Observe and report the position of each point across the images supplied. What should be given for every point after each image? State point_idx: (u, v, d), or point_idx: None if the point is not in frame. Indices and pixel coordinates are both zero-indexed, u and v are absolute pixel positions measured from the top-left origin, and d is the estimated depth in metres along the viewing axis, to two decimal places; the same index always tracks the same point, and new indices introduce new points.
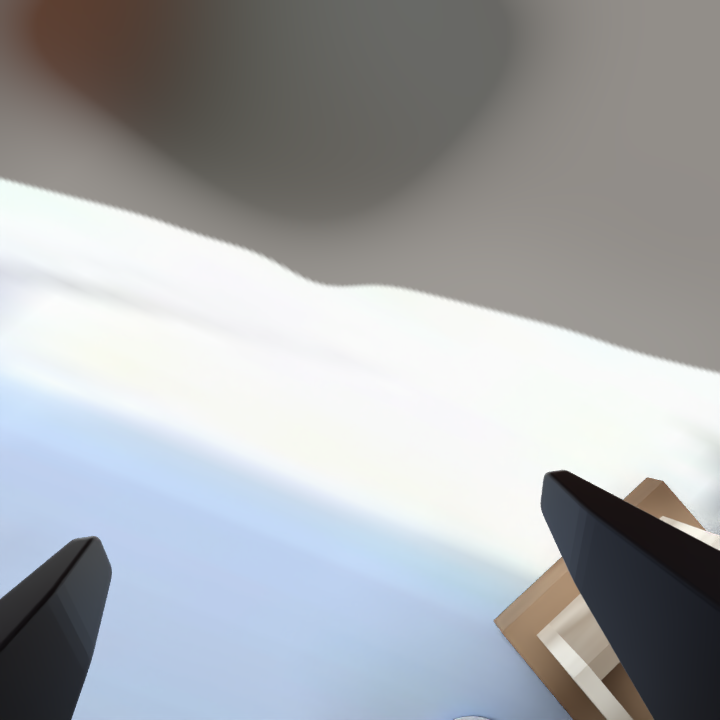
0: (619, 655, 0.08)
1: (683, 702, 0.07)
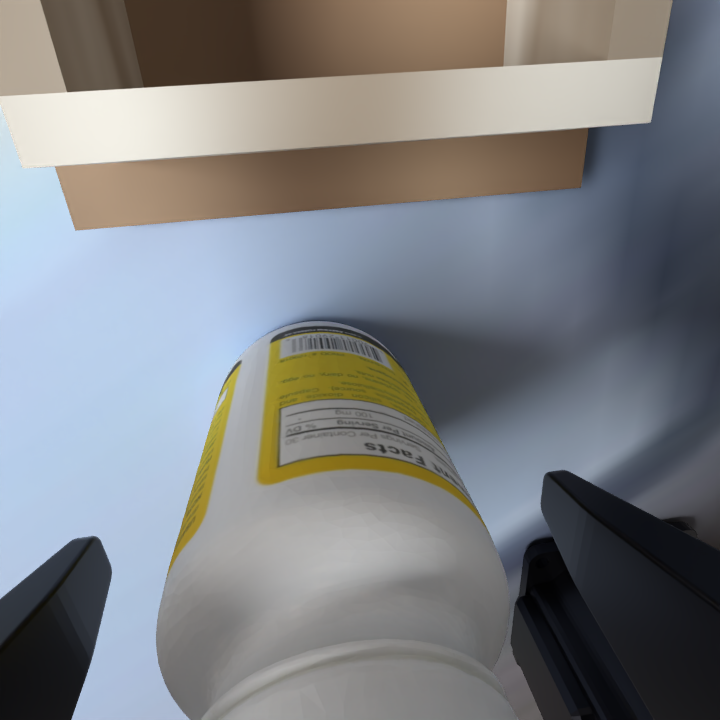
0: (619, 655, 0.08)
1: (683, 702, 0.07)
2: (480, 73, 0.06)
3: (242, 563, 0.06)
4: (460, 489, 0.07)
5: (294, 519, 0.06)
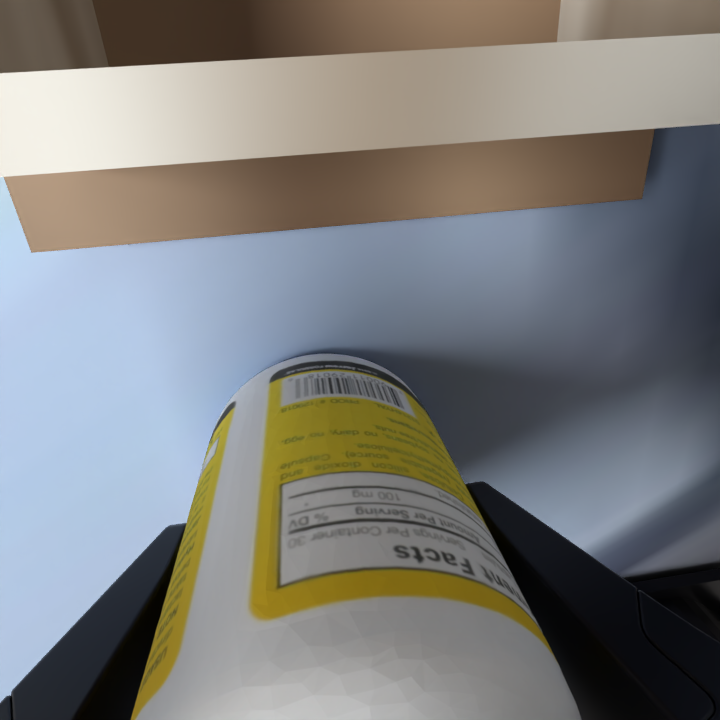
0: None
1: None
2: (561, 49, 0.04)
3: None
4: (517, 600, 0.06)
5: (300, 690, 0.04)
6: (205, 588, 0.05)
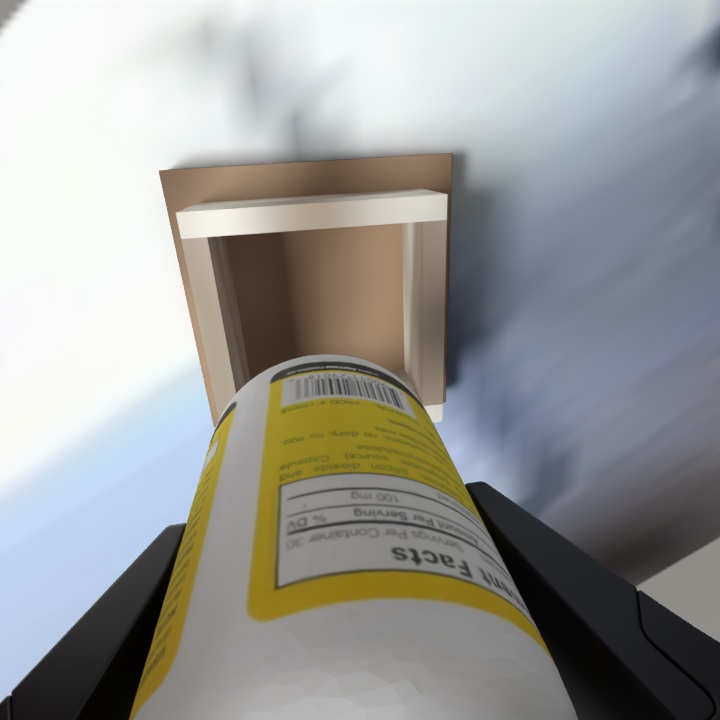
0: None
1: None
2: None
3: None
4: (515, 603, 0.06)
5: (297, 692, 0.04)
6: (204, 589, 0.05)
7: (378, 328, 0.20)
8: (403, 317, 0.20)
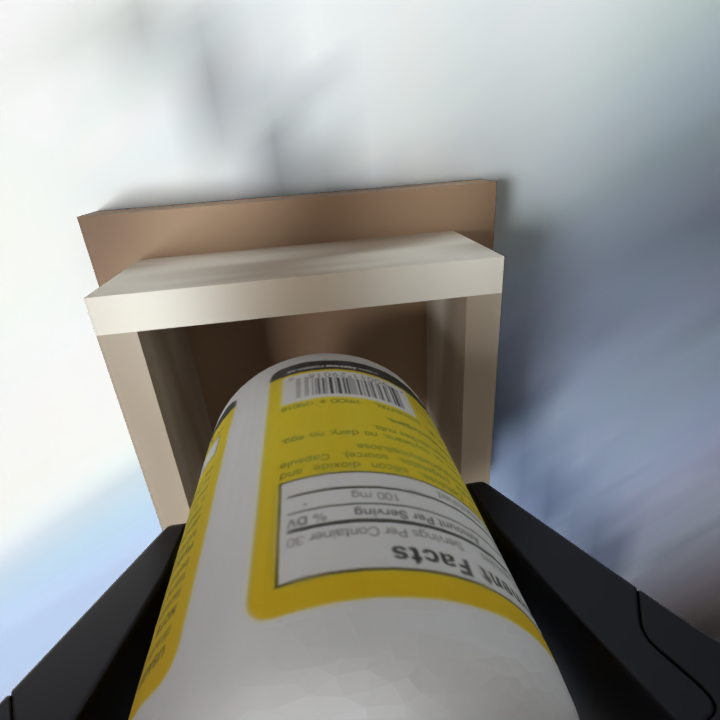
0: None
1: None
2: None
3: None
4: (516, 602, 0.06)
5: (296, 691, 0.04)
6: (203, 587, 0.05)
7: None
8: (426, 397, 0.15)
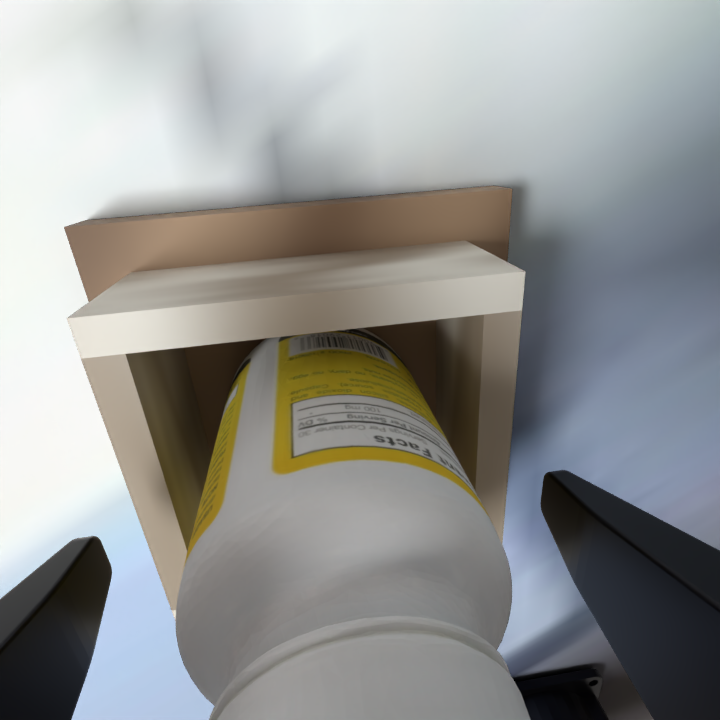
0: (619, 655, 0.08)
1: (683, 702, 0.07)
2: None
3: (261, 545, 0.06)
4: (464, 481, 0.08)
5: (309, 506, 0.06)
6: (238, 467, 0.07)
7: None
8: (435, 415, 0.14)
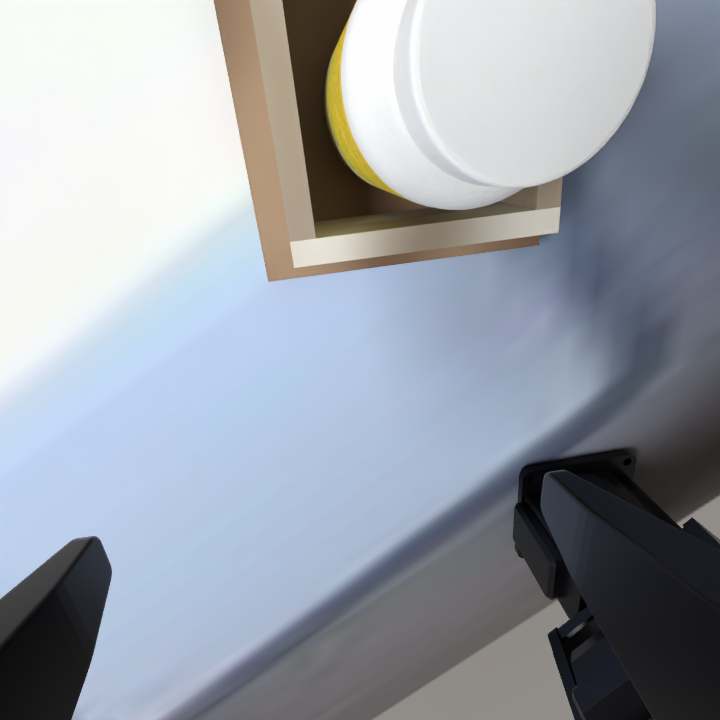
0: (619, 655, 0.08)
1: (683, 702, 0.07)
2: (481, 219, 0.14)
3: None
4: None
5: None
6: None
7: None
8: None
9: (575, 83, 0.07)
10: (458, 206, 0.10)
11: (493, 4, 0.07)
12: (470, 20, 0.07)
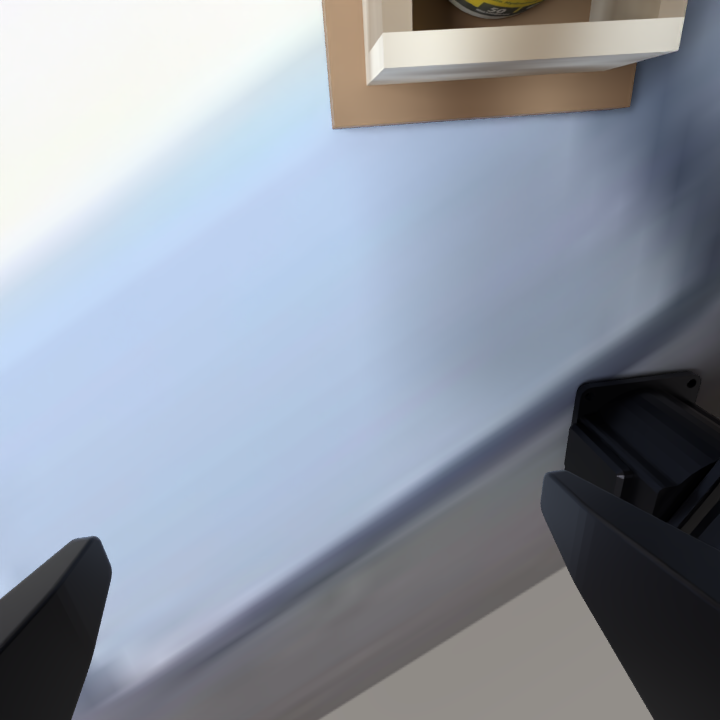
0: (619, 655, 0.08)
1: (683, 702, 0.07)
2: (597, 24, 0.13)
3: None
4: None
5: None
6: None
7: None
8: None
9: None
10: None
11: None
12: None
